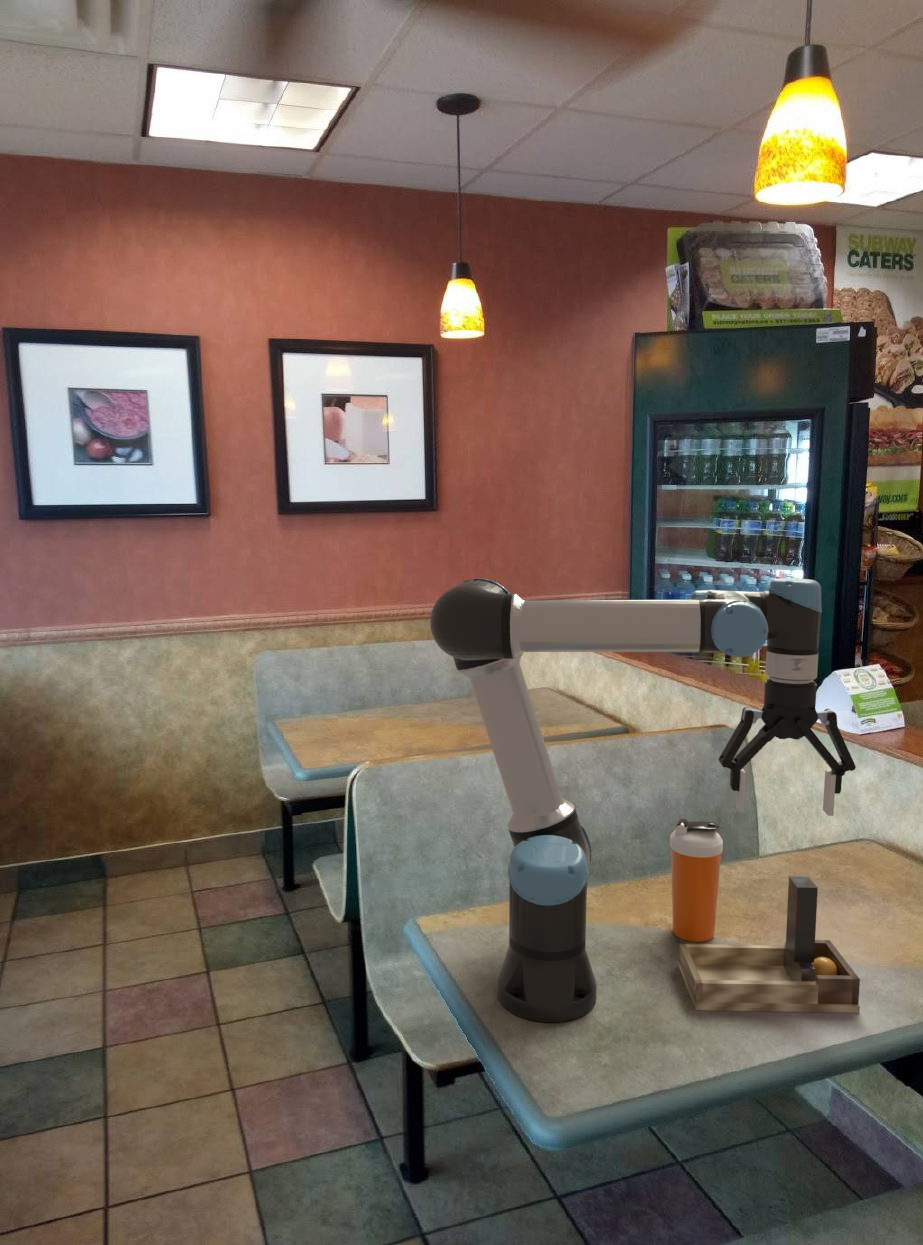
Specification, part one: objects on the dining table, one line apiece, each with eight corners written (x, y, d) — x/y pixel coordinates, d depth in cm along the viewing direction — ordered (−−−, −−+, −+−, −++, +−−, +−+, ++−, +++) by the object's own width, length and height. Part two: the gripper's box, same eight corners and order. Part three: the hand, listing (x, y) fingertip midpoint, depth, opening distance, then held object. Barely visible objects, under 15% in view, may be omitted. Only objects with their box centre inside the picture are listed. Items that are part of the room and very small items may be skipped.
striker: (797, 993, 136) (802, 893, 133) (780, 966, 143) (784, 871, 141) (817, 994, 135) (822, 893, 133) (799, 967, 143) (804, 871, 141)
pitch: (696, 1010, 134) (697, 978, 133) (678, 965, 147) (679, 936, 146) (859, 1012, 133) (861, 981, 132) (826, 967, 146) (828, 938, 145)
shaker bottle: (721, 947, 153) (725, 834, 150) (667, 942, 154) (671, 830, 152) (717, 923, 161) (721, 816, 159) (666, 919, 163) (669, 813, 160)
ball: (813, 988, 137) (817, 963, 137) (804, 974, 141) (808, 950, 141) (839, 991, 137) (843, 966, 137) (830, 977, 141) (833, 953, 141)
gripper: (713, 682, 136) (707, 817, 138) (883, 685, 134) (874, 822, 137) (703, 672, 143) (698, 801, 146) (865, 675, 141) (856, 805, 144)
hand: (783, 811), depth 141 cm, fingers open, 13 cm apart
